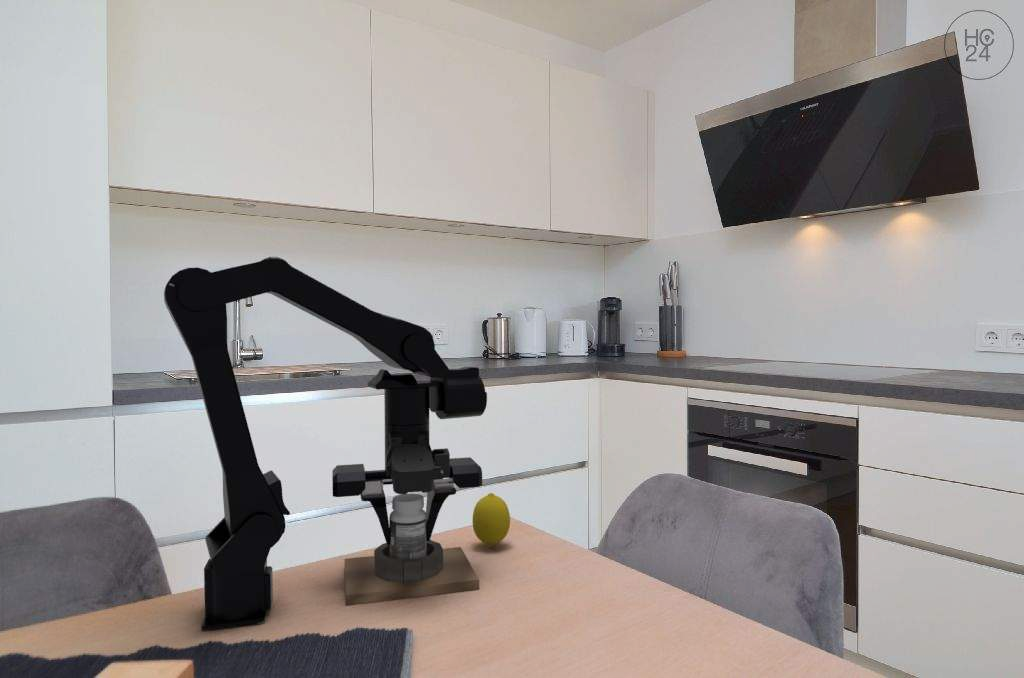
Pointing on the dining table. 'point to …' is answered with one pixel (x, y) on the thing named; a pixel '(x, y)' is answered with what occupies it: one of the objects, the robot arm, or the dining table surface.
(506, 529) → the lemon
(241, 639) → the dining table surface
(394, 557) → the pill bottle
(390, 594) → the socket board
